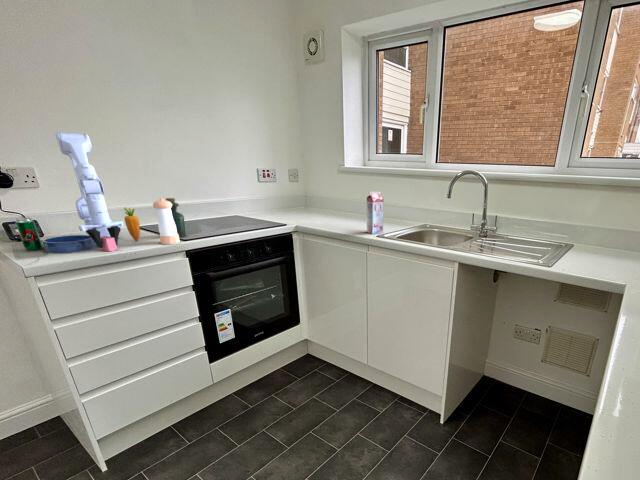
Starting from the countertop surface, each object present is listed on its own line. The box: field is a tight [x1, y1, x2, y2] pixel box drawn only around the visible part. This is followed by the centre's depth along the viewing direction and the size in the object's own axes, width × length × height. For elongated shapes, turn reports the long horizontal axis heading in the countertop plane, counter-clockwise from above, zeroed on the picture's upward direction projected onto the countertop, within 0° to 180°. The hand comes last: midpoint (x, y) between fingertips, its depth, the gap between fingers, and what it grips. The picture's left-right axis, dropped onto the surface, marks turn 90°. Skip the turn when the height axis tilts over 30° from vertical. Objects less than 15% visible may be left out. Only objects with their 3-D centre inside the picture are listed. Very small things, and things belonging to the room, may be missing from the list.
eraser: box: [99, 236, 118, 252], centre depth 141 cm, size 3×6×5 cm, turn 66°
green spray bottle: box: [165, 197, 187, 239], centre depth 166 cm, size 8×8×18 cm
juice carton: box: [366, 191, 384, 235], centre depth 193 cm, size 7×7×22 cm
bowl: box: [41, 234, 97, 254], centre depth 141 cm, size 15×15×4 cm
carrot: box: [123, 206, 141, 242], centre depth 155 cm, size 5×5×15 cm
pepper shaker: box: [152, 197, 181, 245], centre depth 154 cm, size 7×7×19 cm
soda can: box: [15, 217, 44, 252], centre depth 136 cm, size 5×5×12 cm
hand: (108, 246), depth 141 cm, fingers open, 5 cm apart
